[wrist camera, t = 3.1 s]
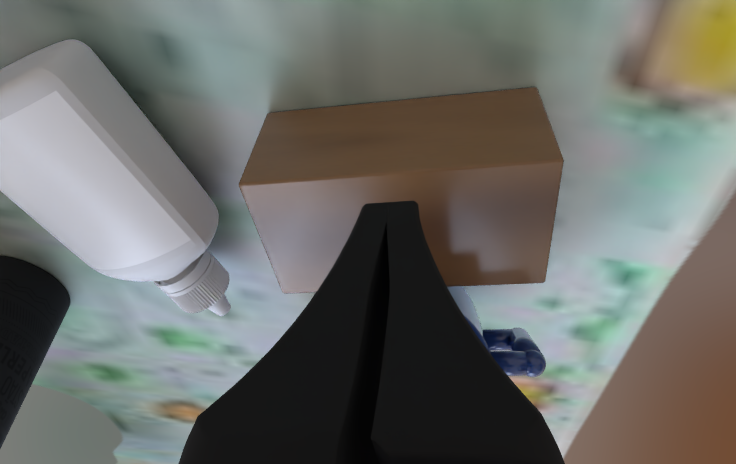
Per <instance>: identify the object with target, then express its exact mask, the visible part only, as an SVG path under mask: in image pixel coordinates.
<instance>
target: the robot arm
mask: <svg viewBox="0 0 736 464" xmlns="http://www.w3.org/2000/svg"><path fill="white" fill-rule="evenodd" d="M179 464H565V463H564V460H563V458H562V455H561V453H560V450H559V448H558V446H557V444H556V441H555V439H554V437H553V435H552V433H551V431H550V429H549V428H548V426H547V424H546V422H545V420H544V418H543V416H542V414H541V413H540V412H539V410H538V409H537V408H536V407H535V406H534V405H533V404H532V403H531V402H530V401H529V400H528V399H527V397H526V396H525V395H524V394H523V393H522V392H521V391H520V390H519V388H518V387H517V386H516V385H515V384H514V383H513V382H512V380H511V379H510V378H509V377H508V375H507V374H506V373H505V372H504V371H503V369H502V368H501V367H500V366H499V365H498V363H497V362H496V361H495V359H494V358H493V357H492V355H491V354H490V353H489V351H488V350H487V348H486V347H485V346H484V344H483V343H482V342H481V340H480V339H479V338H478V336H477V335H476V334H475V332H474V331H473V329H472V328H471V326H470V324H469V323H468V321H467V320H466V318H465V317H464V315H463V314H462V312H461V310H460V309H459V307H458V305H457V304H456V302H455V300H454V299H453V297H452V295H451V293H450V291H449V290H448V288H447V286H446V284H445V282H444V280H443V278H442V276H441V274H440V272H439V270H438V268H437V265H436V263H435V261H434V258H433V256H432V254H431V251H430V249H429V246H428V244H427V241H426V238H425V235H424V232H423V229H422V225H421V221H420V216H419V206H418V203H416V202H415V201H414V200H413V201H398V202H383V203H368V204H365V205H364V206H363V207H362V209H361V211H360V214H359V216H358V219H357V221H356V223H355V225H354V228H353V230H352V232H351V234H350V236H349V238H348V240H347V242H346V244H345V246H344V247H343V249H342V251H341V253H340V255H339V256H338V258H337V260H336V262H335V264H334V265H333V267H332V269H331V270H330V272H329V273H328V275H327V277H326V278H325V280H324V281H323V283H322V284H321V286H320V288H319V289H318V291H317V292H316V294H315V295H314V296H313V298H312V299H311V301H310V302H309V303H308V305H307V306H306V308H305V309H304V310H303V312H302V313H301V314H300V315H299V317H298V318H297V319H296V321H295V322H294V323H293V324H292V325H291V327H290V328H289V329H288V330H287V331H286V332H285V334H284V335H283V336H282V337H281V338H280V340H279V341H278V342H277V343H276V344H275V345H274V346H273V347H272V348H271V349H270V351H269V352H268V353H267V354H266V355H265V356H264V357H263V358H262V359H261V360H260V361H259V362H258V363H257V364H256V365H255V366H254V367H253V368H252V369H251V370H250V371H249V372H248V373H247V374H246V375H245V376H244V377H243V378H242V379H241V380H239V381H238V382H237V383H236V384H235V385H234V386H233V387H232V388H231V389H229V390H228V391H227V392H226V393H225V394H224V395H222V396H221V397H220V398H219V399H218V400H217V401H215V402H214V403H213V404H212V405H211V406H210V407H208V408H207V409H206V410H205V411H204V412H202V413H201V414H200V415H199V416H198V417H197V419H196V422H195V424H194V426H193V428H192V430H191V432H190V434H189V437H188V439H187V441H186V444H185V446H184V449H183V452H182V455H181V458H180V461H179Z"/></svg>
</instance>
